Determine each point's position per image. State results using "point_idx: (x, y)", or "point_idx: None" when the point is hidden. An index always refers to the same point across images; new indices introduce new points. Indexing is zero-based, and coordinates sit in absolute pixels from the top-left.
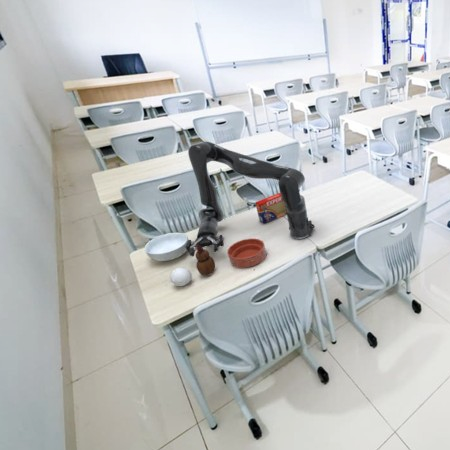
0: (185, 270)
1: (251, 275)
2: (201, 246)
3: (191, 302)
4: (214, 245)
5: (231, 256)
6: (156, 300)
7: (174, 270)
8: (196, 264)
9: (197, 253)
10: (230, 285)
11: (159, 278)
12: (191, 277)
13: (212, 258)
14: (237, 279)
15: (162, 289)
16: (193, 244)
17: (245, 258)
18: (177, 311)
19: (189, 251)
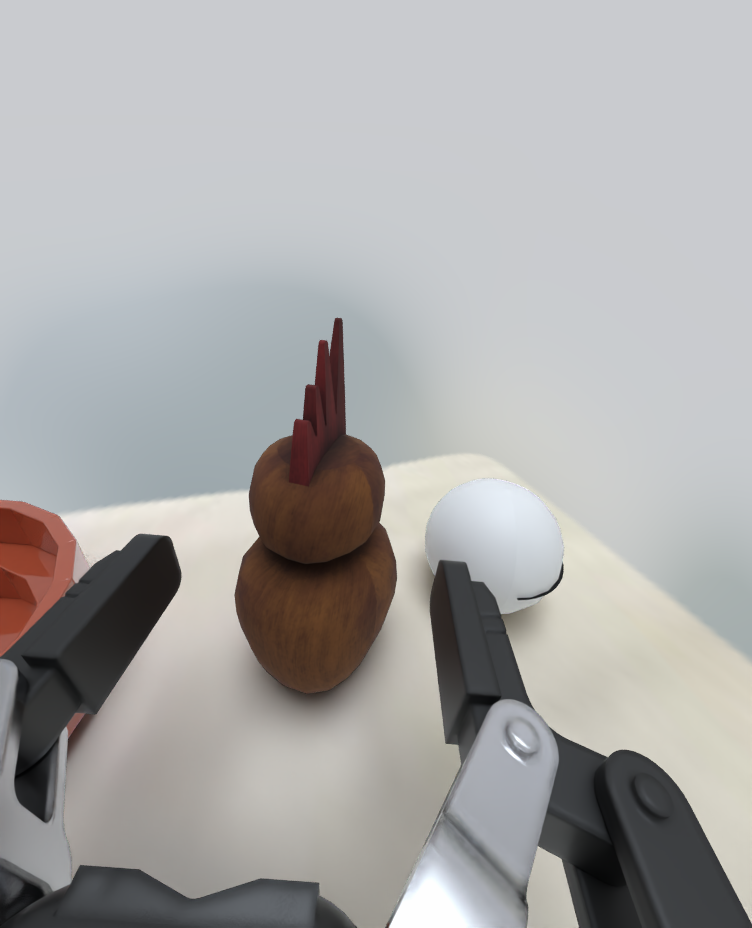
0: (457, 499)
1: (98, 516)
2: (294, 426)
3: (399, 473)
4: (87, 599)
5: (62, 559)
6: (560, 524)
7: (537, 504)
8: (391, 548)
9: (357, 441)
10: (233, 495)
11: (740, 738)
12: (425, 551)
13: (240, 568)
14: (182, 516)
15: (589, 586)
16: (521, 880)
17: (3, 502)
18: (439, 460)
19: (502, 620)
